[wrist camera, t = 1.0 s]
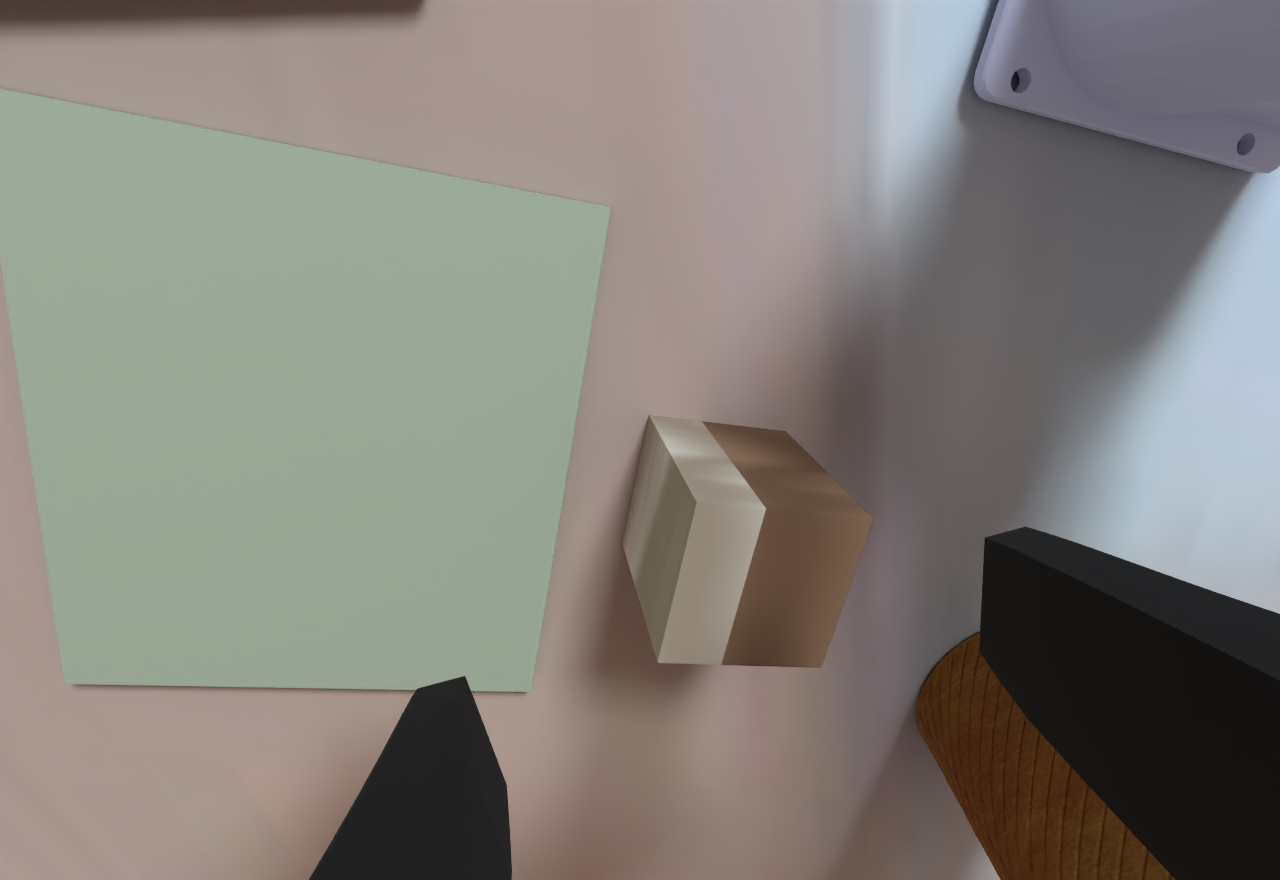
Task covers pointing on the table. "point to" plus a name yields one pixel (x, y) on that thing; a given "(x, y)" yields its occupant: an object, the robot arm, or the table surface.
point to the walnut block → (739, 545)
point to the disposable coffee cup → (1020, 783)
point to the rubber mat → (288, 403)
